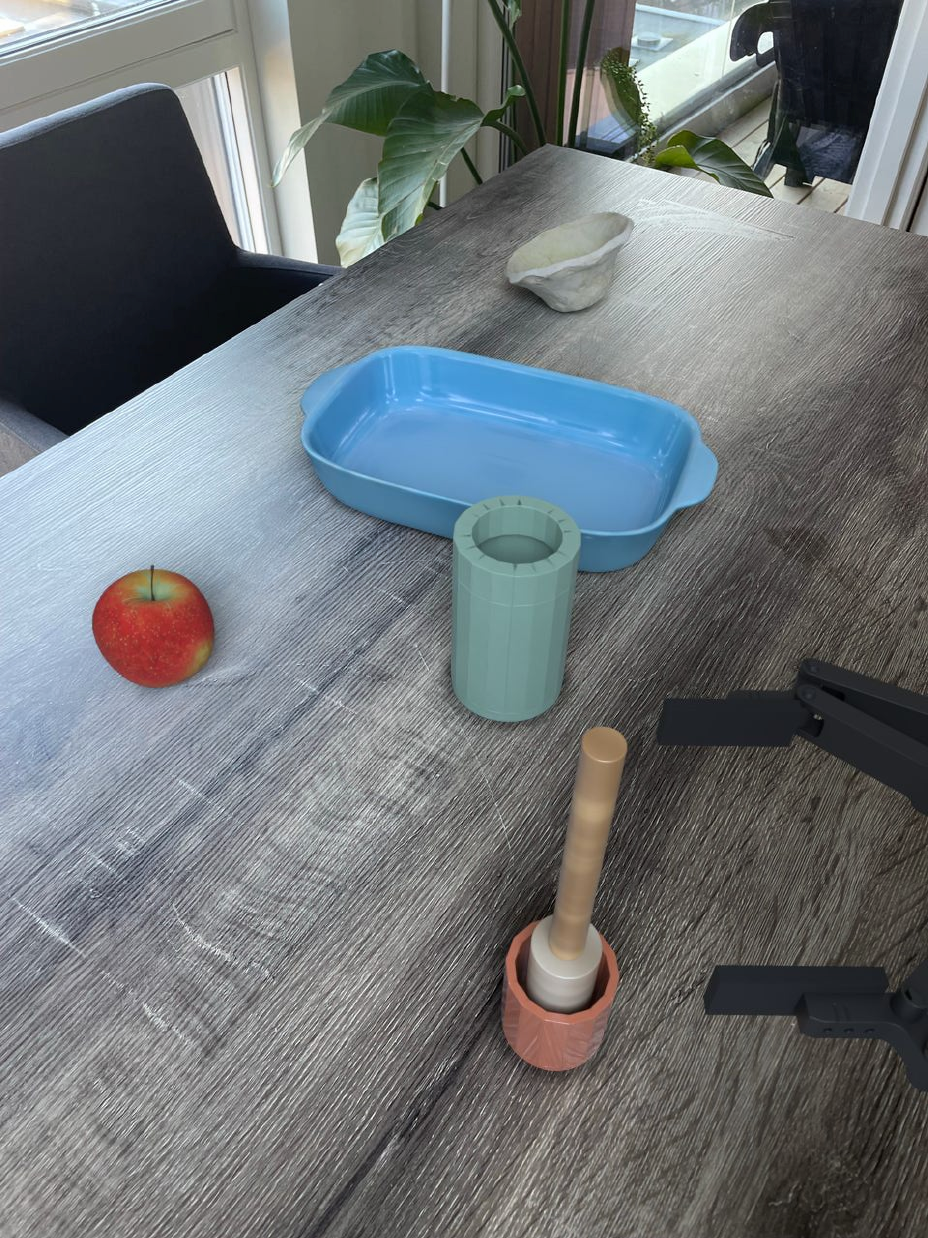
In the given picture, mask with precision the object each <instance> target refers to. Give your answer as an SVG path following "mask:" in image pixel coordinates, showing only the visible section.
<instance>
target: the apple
mask: <svg viewBox="0 0 928 1238" xmlns="http://www.w3.org/2000/svg"><path fill="white" fill-rule="evenodd" d="M91 630H92V635H93V638H94V642H95V644H96V646H97V648H98V651H100V653H101V655H102V657H103V659H105V661H106V662H107V663H108V664H109V665H110V666H111V668H112V669H113V670H114V671H115V672H116V673H118V674H119V675H120V676H121V677H122V678H124V679H125V680H127V681H129V682H131V683H133V684H136V685H138V686H141V687H145V688H150V689H151V688H152V689H158V688H167V687H172V686H175V685H178V684H180V683H183V682H185V681H187V680H190V678H192V677H194V676H195V675H197V674H198V673H199V672H201V670H202V669H203V668H204V667H205V665H206V664H207V663H208V661H209V659H210V657H211V655H212V653H213V650H214V645H215V638H216V637H215V635H216V634H215V632H216V631H215V630H216V629H215V621H214V617H213V613H212V611H211V607H210V605H209V602H208V600H207V599H206V597H205V596H204V594H203V592H202V590H200V589H199V587H198V586H197V585H196V584H195V583H194V582H193V581H191V580H190V579H189V578H187V577H185V576H184V575H182V574H180V573H178V572H175V571H172V570H167V569H159V568H155V565H154V564H152V565H150V568H146V569H139V570H135V571H132V572H129V573H126V574H124V575H122V576H121V577H119V578H117V579H116V580H115V581H114V582H113V583H111V584H110V585H108V587H107V588H106V589H105V590H104V591H103V592H102V593H101V595H100V596H99V598H98V599H97V601H96V603H95V605H94V608H93V611H92V615H91Z"/></svg>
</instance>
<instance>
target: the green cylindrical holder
mask: <svg viewBox="0 0 928 1238" xmlns="http://www.w3.org/2000/svg"><path fill="white" fill-rule="evenodd" d="M580 547H581V533H580V530H579V528H578V526H577V524H576V522H575V521H574V519H573V518H572V517H571V516H570V515H569V514H568V513H566V512H565V511H564V510H563V509H561V508H560V507H559V506H557V505H554V504H552V503H550V502H547V501H545V500H542V499H540V498H534V497H528V496H522V495H507V496H496V497H493V498H489V499H486V500H482V501H480V502H478V503H476V504H474V505H473V506H471V507H469V508H468V509H466V510H465V511H464V512H463V513H462V515H461V516H460V517H459V519H458V520H457V521H456V523H455V526H454V534H453V539H452V572H451V573H452V574H451V575H452V576H451V579H452V580H451V581H452V582H451V632H450V633H451V634H450V635H451V637H450V639H451V640H450V641H451V643H450V675H451V676H450V677H451V679H450V681H451V687H452V690H453V692H454V695H455V696H456V698H457V699H458V701H459V702H460V703H461V704H462V705H463V706H464V707H465V708H466V709H467V710H469V711H471V712H472V713H473V714H475V715H477V716H480V717H481V718H483V719H484V718H485V719H487V720H492V721H495V722H503V723H515V722H522V721H527V720H530V719H533V718H537V717H538V716H540V715H542V714H544V713H545V712H547V711H548V710H549V709H550V708H552V706H553V705H554V704H555V703H556V701H557V700H558V698H559V696H560V694H561V692H562V691H561V690H562V685H563V682H564V675H565V668H566V667H565V666H566V660H567V651H568V645H569V637H570V631H571V622H572V614H573V607H574V600H575V593H576V586H577V585H576V584H577V576H578V562H579V555H580Z"/></svg>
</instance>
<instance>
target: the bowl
mask: <svg viewBox="0 0 928 1238" xmlns="http://www.w3.org/2000/svg"><path fill="white" fill-rule="evenodd" d="M634 228H635V221H634V219H632V218H631V217H628V216H626V215H624V214H621V213H619V212H616V211H612V212H611V211H605V212H599V213H598V212H597V213H591V214H587V215H584V216H581V217H580V218H575V219H574V220H573V221H572V222H566V223H563V224H561V225H559V226H556V227H553V228H550V229H549V230H544V231H542V232H541V233H539V234H537V235H536V236H535V237H534V238H532V239H530V240H529V241H527V242H526V243H525V244H523V245H522V246H520V247H518V248H516V249H515V251H514V252H513V253H512V255H511V257H510V258H509V259H508V262H507V264H506V266H505V268H504V270H503V275H504V276H505V278H507V279H508V280H509V283H510V284H512V285H515V286H519V287H521V288H525V289H528V290H529V291H531V292H532V293H534V294H535V295H536V296H538V297H539V298H541V299H542V300H543V301H544V302H545V303H546V305H547V306H548V307H549V308H551V309H553V310H555V311H557V312H561V313H569V312H570V313H571V312H576V311H581V310H583V309H586V308H589V307H591V306H592V305H594V304H595V303H597V302H598V301H601V299H602V298H603V297H604V296H606V294H607V293H608V291H609V289H610V287H611V285H612V282H613V280H614V270H615V261H616V260H617V258H618V256H619V253H620V251H621V250H622V248H623V247H624V246H625V245H626V244H627V242H628V241H629V239H630V238H631V235H632V232H633V230H634Z"/></svg>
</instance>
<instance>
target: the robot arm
mask: <svg viewBox="0 0 928 1238" xmlns="http://www.w3.org/2000/svg"><path fill="white" fill-rule="evenodd" d="M815 715H816V716H817V717H820V718H821V719H818V718H816V717H815ZM655 732H656V733H655V735H656V736H655V737H656V741H657V745H658V746H660V747H661V746H662V747H663V746H665V747H666V746H667V747H668V746H669V747H671V746H672V747H674V746H675V747H741V748H743V747H744V748H746V747H747V748H749V747H750V748H757V747H758V748H790V745H791V744H792V743H791V742H792V740H793V738H794V735H795V736H798V738H801V739H803V740H805V741H806V742H809V743H810V744H812V745H814V746H815V747H816V748H817V747H818V748H819V749H821V750H823V751H824V752H826V753H827V754H829V755H832V756H833V757H835V758H836V759H838V760H840V761H842V762H843V763H845V764H847V765H848V766H851V767H852V768H854V769H857V770H858V771H860V772H861V773H863V774H865V775H868V777H871V778H872V779H874V780H876V781H878V782H879V783H881V784H883V785H884V786H886V787H888V788H890V789H892V790H893V791H895V792H897V793H899V794H901V795H903V796H904V797H906V798H907V799H908V800H909V802H910V805H911V807H912V808H913V809H914V810H915V811H916V812H917V813H920V814H921V815H923V816H925V817H927V818H928V695H925V694H922V693H919V692H916V691H913V690H910V689H907V688H904V687H901V686H899V685H895V684H892V683H889V682H886V681H883V680H880V679H877V678H874V677H872V676H869V675H865V674H862V673H860V672H856V671H855V670H854V671H853V670H850V669H847V668H845V667H842V666H840V665H839V666H838V665H836V664H832V663H829V662H826V661H824V660H821V659H817V658H814V657H806V658H804V659H803V660H801V663H800V665H799V667H798V670H797V673H796V675H795V678H794V681H793V684H792V686H791V688H790V689H786V690H781V689H780V690H777V689H776V690H775V689H773V690H771V689H770V690H769V689H758V690H757V689H750V690H749V689H735V690H733V691H729V692H727V695H726V697H725V698H699V697H698V698H696V697H695V698H693V697H692V698H691V697H690V698H686V697H685V698H684V697H683V698H682V697H664V700H663V703H662V708H661V712H660V716H659V720H658V725H657V728H656V731H655ZM890 985H891V984H890V981H889V979H888V974H887V972H886V969H885V966H865V965H864V966H862V965H861V966H860V965H859V966H858V965H857V966H856V965H854V966H853V965H843V966H842V965H766V964H765V965H764V964H763V965H758V964H757V965H756V964H755V965H753V964H748V965H747V964H715V966H714V969H713V971H712V973H711V976H710V978H709V981H708V983H707V986H706V987H705V990H704V993H703V995H702V1001H703V1006H704V1012H705V1016H763V1017H764V1016H769V1017H771V1016H773V1017H795V1018H796V1021H797V1026H798V1031H799V1034H802V1035H805V1036H807V1037H810V1038H813V1039H854V1040H857V1039H858V1040H859V1039H863V1040H865V1039H866V1040H868V1039H869V1040H871V1039H872V1040H873V1039H874V1040H880V1041H883V1042H885V1043H887V1044H888V1045H889V1046H891V1048H893V1049H894V1050H895V1052H896V1053H897V1054H898V1056H899V1057H900V1058H901V1060H902V1062H903V1063H904V1065H905V1077H906V1079H907V1080H908V1082H909V1084H910V1085H911V1086H913V1087H914V1089H916V1090H919V1091H920V1092H924V1093H928V955H926V956H925V958H924V959H923V960H922V961H921V962H920V963H919V965H917V966H916V967H915V969H914V970H913V971H912V972H911V973H910V974H909V976H908V977H906V979H905V980H902V981H901V983H900V984H899V986H898V988H897V989H896V990H895V991H887V990H888V989H889V987H890Z"/></svg>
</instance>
